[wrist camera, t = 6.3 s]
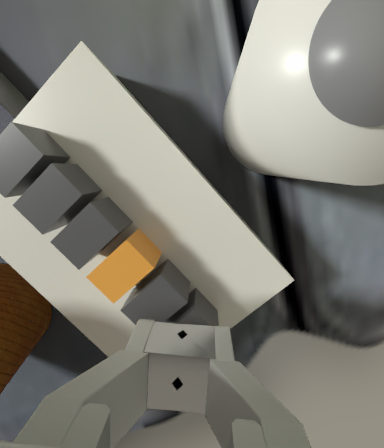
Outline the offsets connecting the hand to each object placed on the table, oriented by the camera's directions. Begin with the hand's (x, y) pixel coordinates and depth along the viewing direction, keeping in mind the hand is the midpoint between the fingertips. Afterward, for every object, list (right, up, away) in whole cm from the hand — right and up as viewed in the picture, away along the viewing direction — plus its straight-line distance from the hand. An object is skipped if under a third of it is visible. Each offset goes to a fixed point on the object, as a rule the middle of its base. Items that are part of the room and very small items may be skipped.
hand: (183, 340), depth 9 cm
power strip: (-6, +7, +7) cm, 11 cm away
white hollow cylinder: (+5, +10, +6) cm, 12 cm away
